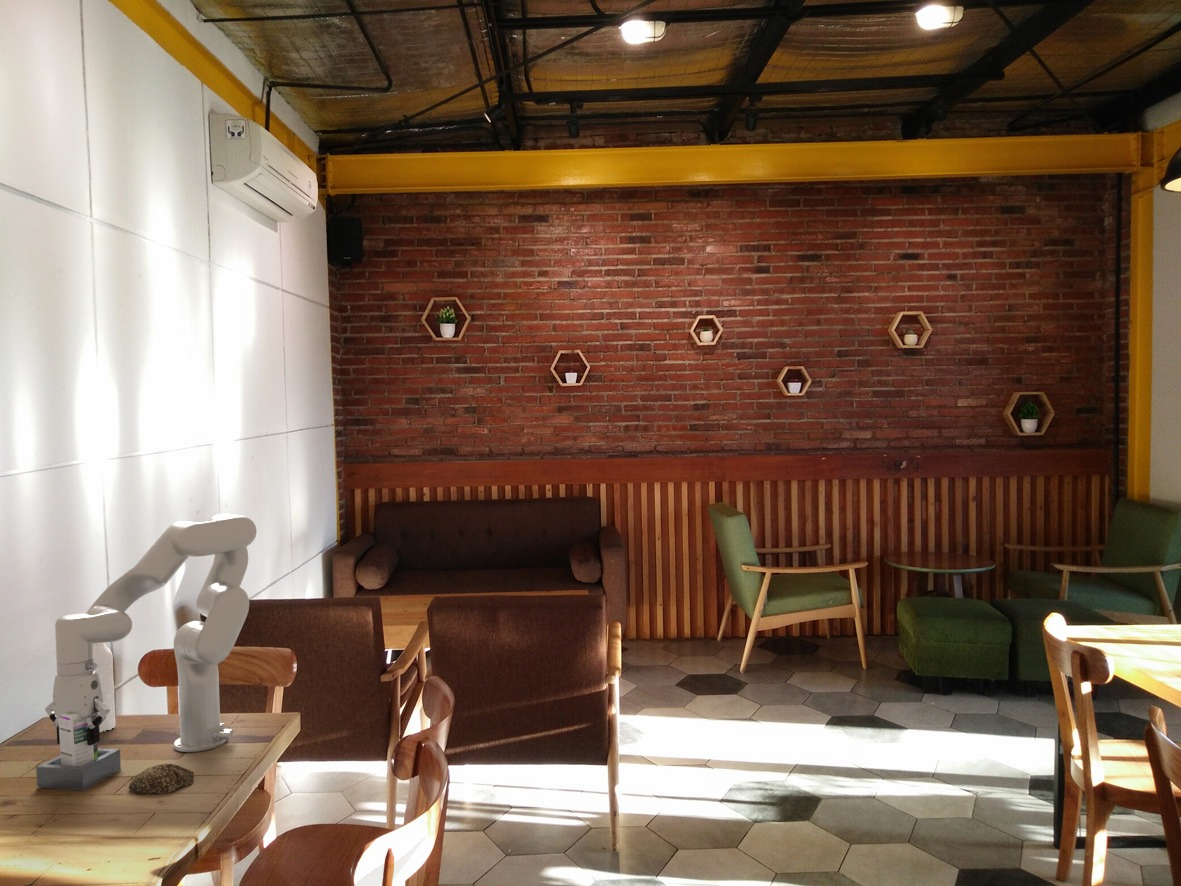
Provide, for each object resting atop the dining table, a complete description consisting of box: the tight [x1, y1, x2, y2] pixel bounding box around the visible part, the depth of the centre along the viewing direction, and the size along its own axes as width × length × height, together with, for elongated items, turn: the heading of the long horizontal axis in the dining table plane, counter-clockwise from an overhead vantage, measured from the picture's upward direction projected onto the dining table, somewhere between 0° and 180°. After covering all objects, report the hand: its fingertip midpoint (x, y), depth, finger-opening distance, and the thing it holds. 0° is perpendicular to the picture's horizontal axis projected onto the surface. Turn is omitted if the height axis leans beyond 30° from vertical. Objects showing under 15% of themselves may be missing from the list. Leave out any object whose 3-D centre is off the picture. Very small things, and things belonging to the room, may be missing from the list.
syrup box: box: [58, 710, 98, 766], centre depth 204 cm, size 6×6×14 cm
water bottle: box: [93, 642, 116, 733], centre depth 236 cm, size 9×6×25 cm
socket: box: [35, 747, 122, 792], centre depth 204 cm, size 12×12×5 cm
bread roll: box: [128, 763, 194, 796], centre depth 200 cm, size 13×12×5 cm
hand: (78, 742), depth 204 cm, fingers closed on syrup box, 7 cm apart
